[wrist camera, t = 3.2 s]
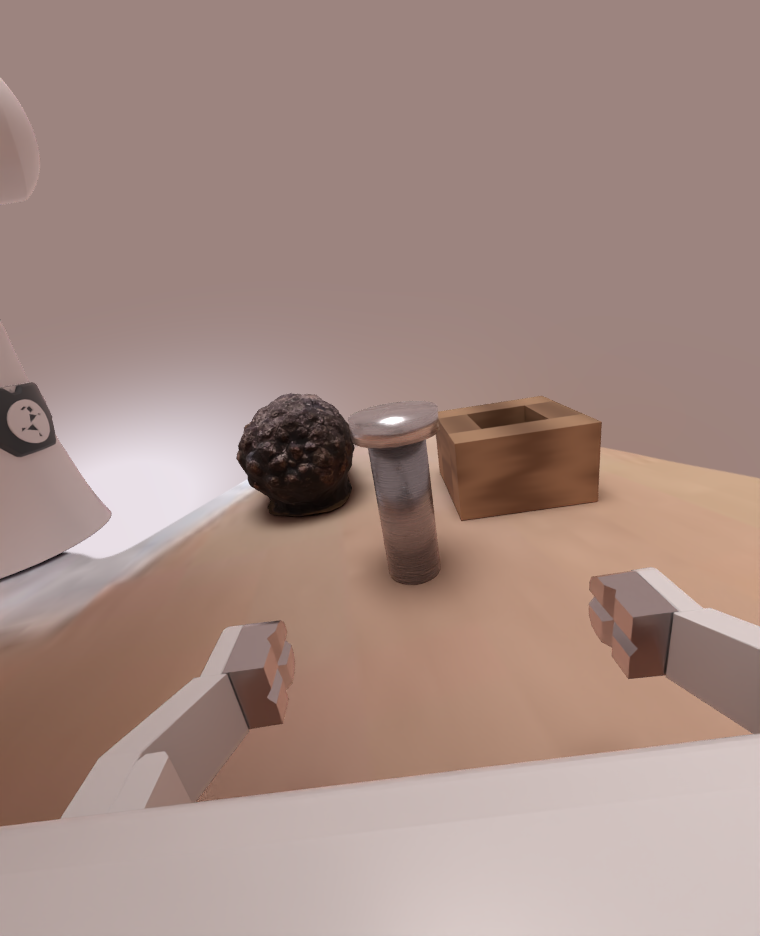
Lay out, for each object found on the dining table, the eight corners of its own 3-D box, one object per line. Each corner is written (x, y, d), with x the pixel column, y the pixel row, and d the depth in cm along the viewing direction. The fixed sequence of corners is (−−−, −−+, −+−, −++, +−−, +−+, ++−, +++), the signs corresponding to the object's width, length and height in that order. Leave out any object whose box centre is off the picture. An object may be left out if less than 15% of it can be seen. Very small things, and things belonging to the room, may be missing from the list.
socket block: (461, 520, 29) (454, 443, 27) (439, 472, 38) (433, 412, 36) (597, 501, 28) (601, 421, 26) (542, 456, 38) (541, 395, 36)
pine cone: (342, 452, 49) (326, 372, 46) (376, 508, 33) (355, 391, 30) (258, 471, 48) (235, 389, 44) (251, 540, 31) (214, 419, 28)
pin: (376, 598, 22) (345, 430, 19) (376, 552, 27) (350, 409, 23) (460, 587, 22) (444, 415, 19) (446, 542, 26) (430, 397, 23)
